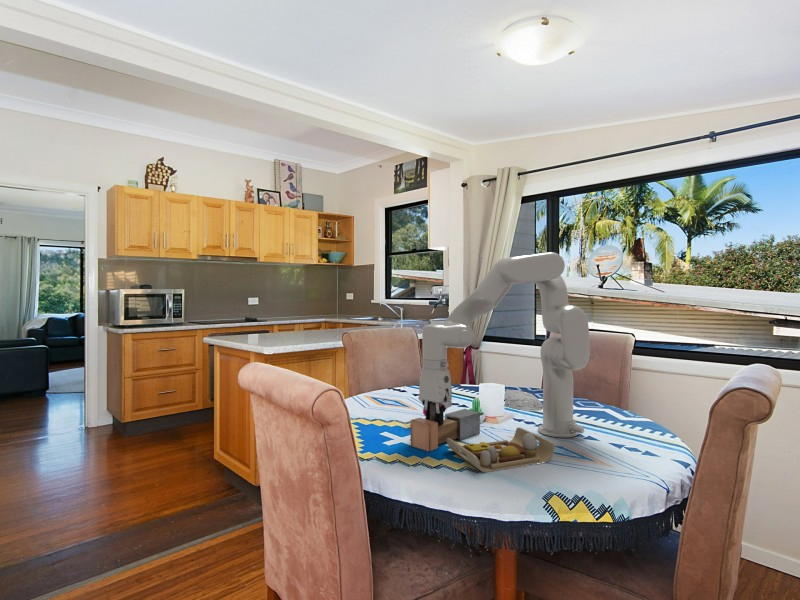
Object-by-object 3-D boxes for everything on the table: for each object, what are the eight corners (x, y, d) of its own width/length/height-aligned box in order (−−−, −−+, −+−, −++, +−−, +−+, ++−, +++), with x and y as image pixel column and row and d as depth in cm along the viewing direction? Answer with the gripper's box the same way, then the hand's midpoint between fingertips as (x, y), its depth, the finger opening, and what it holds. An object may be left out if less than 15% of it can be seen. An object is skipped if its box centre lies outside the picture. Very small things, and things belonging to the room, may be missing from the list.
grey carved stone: (531, 412, 181) (531, 394, 182) (482, 403, 201) (482, 387, 202) (555, 410, 191) (555, 393, 191) (506, 402, 211) (506, 386, 211)
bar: (464, 436, 152) (464, 398, 152) (429, 447, 141) (429, 407, 141) (454, 433, 155) (454, 396, 155) (419, 444, 144) (419, 405, 144)
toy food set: (518, 443, 148) (518, 418, 147) (556, 463, 131) (556, 435, 130) (444, 453, 139) (444, 427, 139) (475, 475, 122) (475, 446, 122)
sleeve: (479, 433, 156) (479, 412, 156) (460, 440, 149) (460, 418, 149) (464, 429, 161) (464, 408, 160) (445, 435, 154) (445, 414, 154)
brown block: (437, 448, 141) (437, 422, 141) (428, 451, 138) (428, 425, 138) (419, 442, 147) (419, 417, 147) (410, 445, 144) (410, 419, 144)
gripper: (463, 366, 142) (463, 427, 142) (424, 360, 154) (424, 416, 154) (446, 369, 137) (446, 432, 137) (407, 362, 149) (407, 421, 149)
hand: (434, 423), depth 146 cm, fingers closed on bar, 3 cm apart
